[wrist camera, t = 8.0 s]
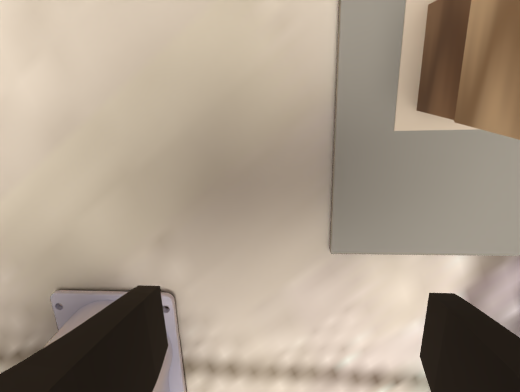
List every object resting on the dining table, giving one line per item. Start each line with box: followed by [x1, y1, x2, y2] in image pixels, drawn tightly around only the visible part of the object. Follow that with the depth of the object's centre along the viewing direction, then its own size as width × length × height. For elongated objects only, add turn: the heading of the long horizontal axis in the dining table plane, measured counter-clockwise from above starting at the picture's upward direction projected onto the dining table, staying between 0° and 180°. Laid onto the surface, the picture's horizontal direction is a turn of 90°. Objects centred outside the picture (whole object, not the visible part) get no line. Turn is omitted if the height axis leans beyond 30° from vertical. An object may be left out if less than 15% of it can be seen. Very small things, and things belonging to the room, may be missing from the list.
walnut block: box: [417, 0, 471, 120], centre depth 14 cm, size 4×4×4 cm
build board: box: [330, 0, 520, 256], centre depth 17 cm, size 14×11×1 cm
